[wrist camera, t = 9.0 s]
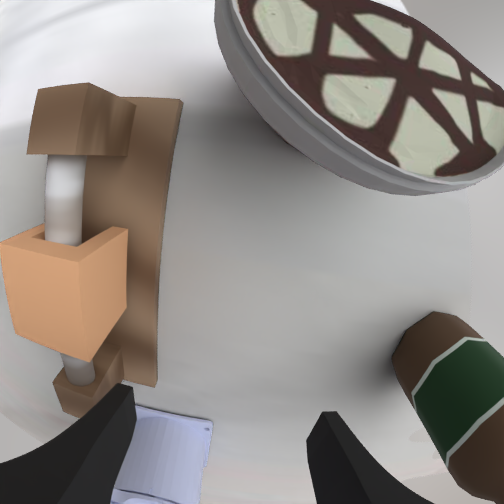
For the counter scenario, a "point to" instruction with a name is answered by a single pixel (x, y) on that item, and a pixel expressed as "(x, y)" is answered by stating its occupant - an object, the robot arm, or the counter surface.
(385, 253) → the counter surface
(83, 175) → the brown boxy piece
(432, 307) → the counter surface
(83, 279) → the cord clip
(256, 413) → the counter surface
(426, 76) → the food container
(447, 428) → the beer bottle
